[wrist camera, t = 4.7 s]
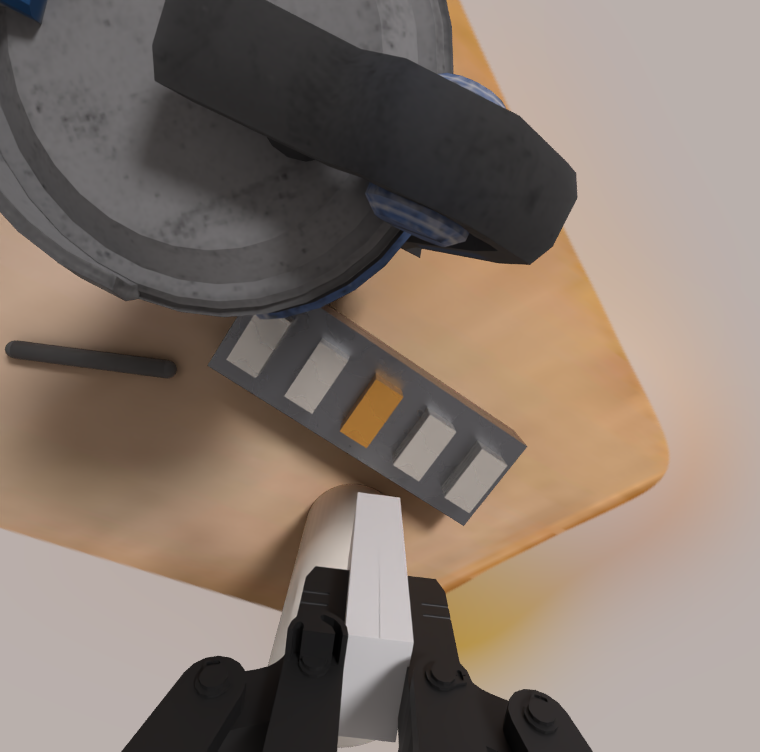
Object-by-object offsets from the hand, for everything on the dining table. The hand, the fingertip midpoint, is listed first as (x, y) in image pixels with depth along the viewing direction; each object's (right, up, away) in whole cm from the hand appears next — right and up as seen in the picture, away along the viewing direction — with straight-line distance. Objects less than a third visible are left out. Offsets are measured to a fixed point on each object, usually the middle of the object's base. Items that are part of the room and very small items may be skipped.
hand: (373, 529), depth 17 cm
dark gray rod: (-19, +7, +16) cm, 26 cm away
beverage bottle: (-3, +16, +14) cm, 22 cm away
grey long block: (0, +4, +17) cm, 18 cm away
